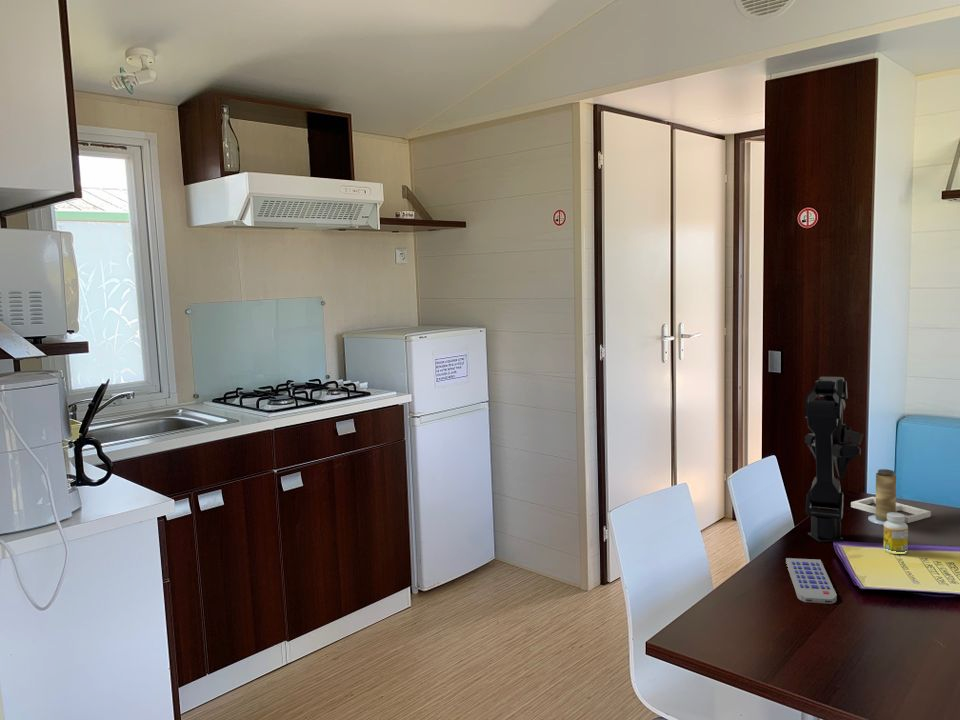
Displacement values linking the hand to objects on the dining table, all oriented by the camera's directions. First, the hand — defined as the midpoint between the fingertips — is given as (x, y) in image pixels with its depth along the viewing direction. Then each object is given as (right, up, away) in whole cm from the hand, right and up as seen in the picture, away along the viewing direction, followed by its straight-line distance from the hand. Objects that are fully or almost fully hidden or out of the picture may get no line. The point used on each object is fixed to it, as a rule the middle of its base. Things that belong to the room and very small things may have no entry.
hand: (831, 473), depth 215 cm
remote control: (-25, -19, -42) cm, 52 cm away
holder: (+19, -12, +4) cm, 23 cm away
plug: (+14, -12, -4) cm, 19 cm away
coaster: (+14, -13, -4) cm, 19 cm away
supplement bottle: (+4, -16, -26) cm, 31 cm away
